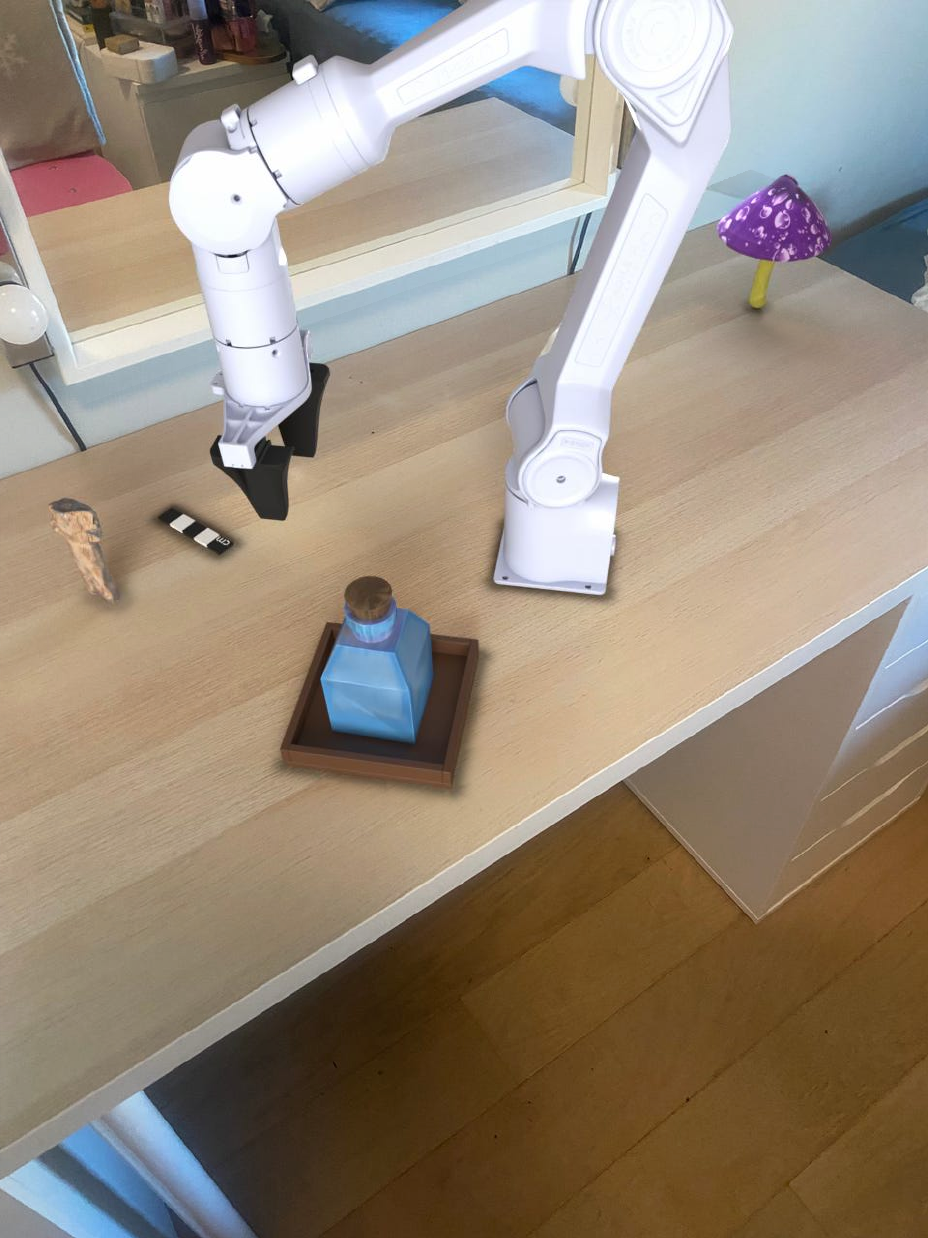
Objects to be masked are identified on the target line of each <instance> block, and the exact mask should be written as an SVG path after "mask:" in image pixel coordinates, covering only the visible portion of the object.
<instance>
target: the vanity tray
mask: <svg viewBox="0 0 928 1238" xmlns="http://www.w3.org/2000/svg"><path fill="white" fill-rule="evenodd" d="M342 623H343V622H342ZM342 623H341V622H332V621H326V623H325V625H324V627H323V631H322V633H321V635H320V636H321V637H320V639H319V641H318V645H317V647H316V649H315V653H314V655H313V658H312V661H311V662H310V663H311V664H310V665H309V668H308V672H307V674H306V677H305V679H304V682H303V685H302V687H301V690H300V693H299V696H298V698H297V702H296V703H295V706H294V710H293V712H292V715H291V717H290V720H289V723H288V725H287V728H286V732H285V734H284V737H283V740H282V743H281V745H280V748H279V752H280V755H281V758H282V761H283V764H284V766H286V767H293V768H298V769H299V768H300V769H308V770H313V771H320V772H321V771H322V772H329V773H336V774H343V775H349V776H357V777H365V778H370V779H371V778H372V779H378V780H385V781H392V782H399V783H400V782H401V783H408V784H416V785H420V786H421V785H422V786H429V787H437V788H444V789H451V790H452V788H453V783H454V778H455V775H456V774H455V773H456V768H457V764H458V759H459V753H460V751H461V745H462V740H463V735H464V730H465V725H466V724H465V723H466V721H467V715H468V710H469V706H470V702H471V696H472V692H473V688H474V687H473V686H474V681H475V677H476V672H477V667H478V662H479V657H480V649H479V648H480V647H479V646H480V645H479V644H480V643H479V642H480V641H479V638H477V639H476V638H470V637H462V636H453V635H443V634H437V633H436V634H435V633H430V636H431V649H432V663H433V677H434V678H433V681H432V685H431V689H430V692H429V696H428V699H427V703H426V706H425V710H424V713H423V717H422V720H421V724H420V727H419V731H418V734H417V738H416V741H415V744H412V743H405V742H399V741H393V740H386V739H380V738H374V737H367V736H361V735H355V734H348V733H342V732H336V731H332V726H331V722H330V717H329V713H328V709H327V704H326V700H325V695H324V691H323V686H322V682H321V677H322V674H323V672H324V669H325V666H326V664H327V661H328V659H329V656H330V654H331V651H332V648H333V646H334V643H335V641H336V638H337V636H338V633H339V630H340V628H341V625H342Z"/></svg>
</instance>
